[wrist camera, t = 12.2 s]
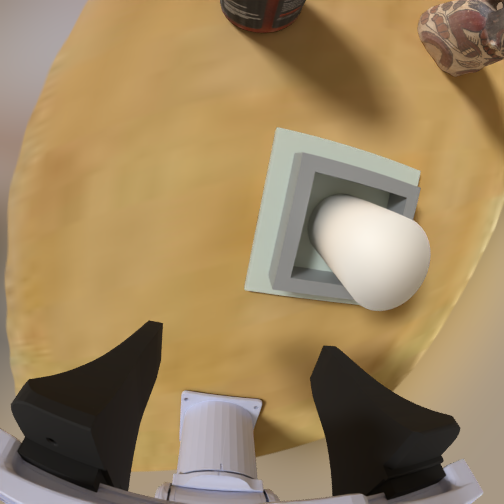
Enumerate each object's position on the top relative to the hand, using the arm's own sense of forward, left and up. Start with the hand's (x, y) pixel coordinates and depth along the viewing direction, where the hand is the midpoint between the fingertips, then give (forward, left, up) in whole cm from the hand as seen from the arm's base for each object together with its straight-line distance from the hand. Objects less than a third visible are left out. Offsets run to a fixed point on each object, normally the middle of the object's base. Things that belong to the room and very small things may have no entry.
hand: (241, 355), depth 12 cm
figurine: (+25, -15, -11) cm, 31 cm away
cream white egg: (+5, -7, -10) cm, 13 cm away
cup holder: (+5, -7, -10) cm, 13 cm away
